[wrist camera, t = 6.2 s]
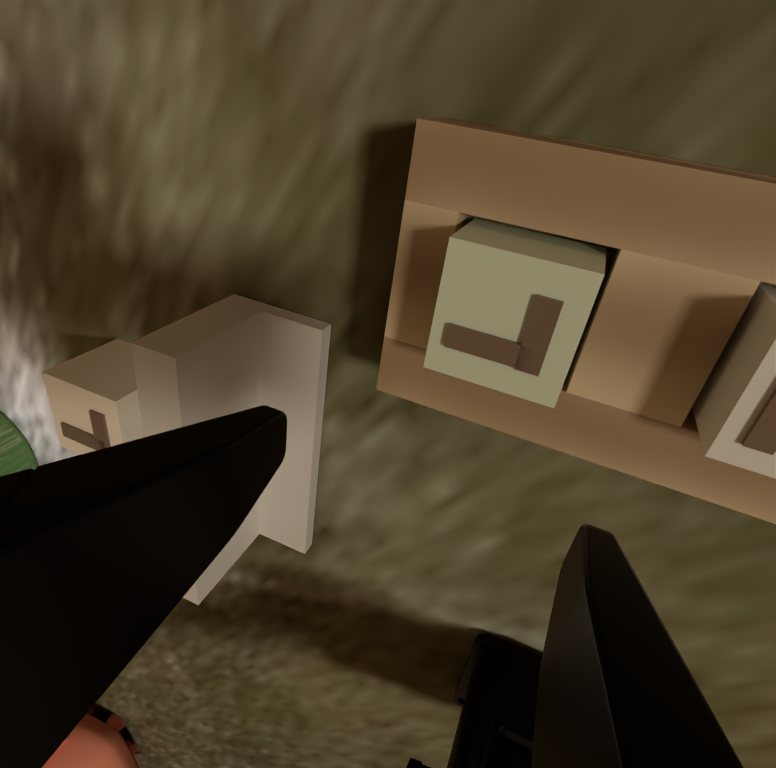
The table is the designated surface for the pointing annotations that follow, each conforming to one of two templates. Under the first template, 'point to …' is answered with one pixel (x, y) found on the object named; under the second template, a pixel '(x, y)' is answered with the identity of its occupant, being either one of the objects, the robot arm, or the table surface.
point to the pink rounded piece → (95, 746)
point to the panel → (614, 299)
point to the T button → (743, 392)
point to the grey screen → (243, 403)
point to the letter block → (95, 398)
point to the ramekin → (14, 449)
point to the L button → (513, 308)
